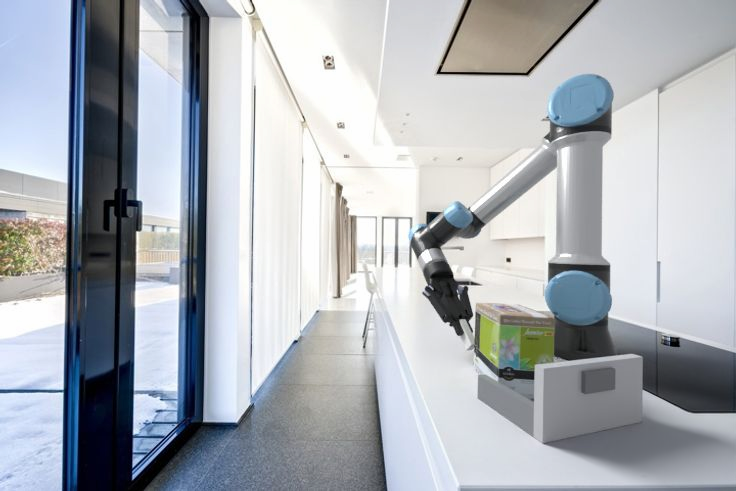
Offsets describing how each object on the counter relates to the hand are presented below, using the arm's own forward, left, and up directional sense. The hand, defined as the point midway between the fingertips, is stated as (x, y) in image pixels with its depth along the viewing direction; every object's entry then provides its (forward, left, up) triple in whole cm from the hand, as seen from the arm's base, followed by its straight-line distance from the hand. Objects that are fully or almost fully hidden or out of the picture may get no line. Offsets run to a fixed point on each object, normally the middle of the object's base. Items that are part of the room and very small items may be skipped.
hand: (471, 347), depth 71 cm
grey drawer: (-1, +20, -4) cm, 21 cm away
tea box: (-2, +10, -4) cm, 11 cm away
